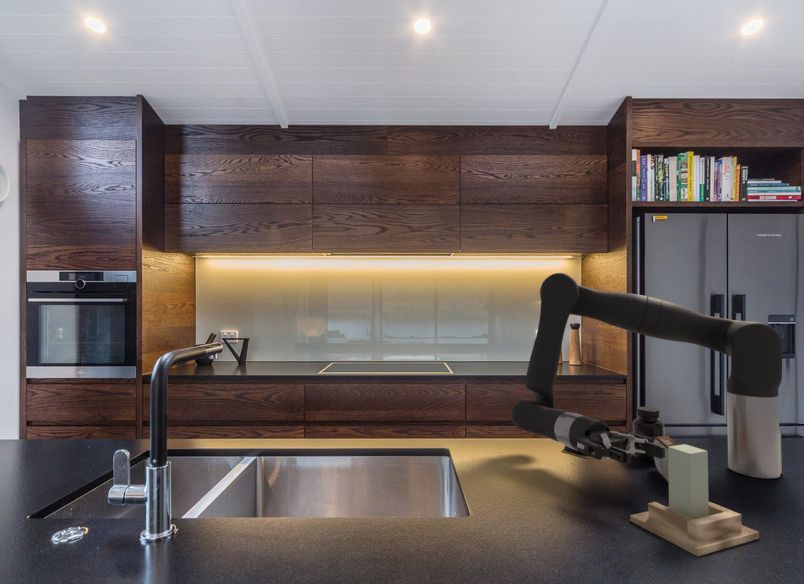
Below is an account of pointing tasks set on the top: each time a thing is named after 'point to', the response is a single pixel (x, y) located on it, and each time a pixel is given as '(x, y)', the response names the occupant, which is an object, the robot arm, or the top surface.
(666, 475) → the tin
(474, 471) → the top surface
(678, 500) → the green block
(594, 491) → the top surface
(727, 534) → the rack
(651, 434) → the supplement bottle
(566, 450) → the bread roll
